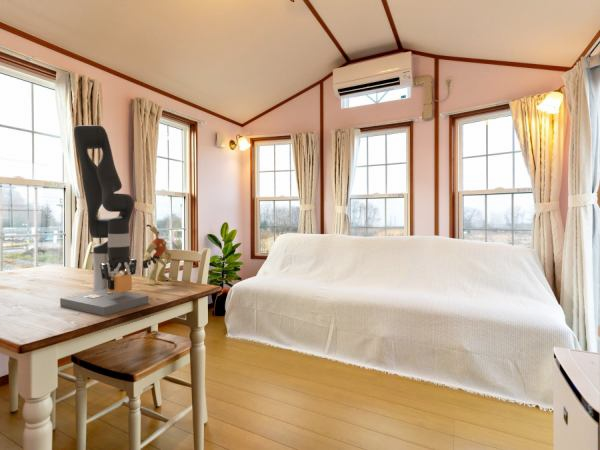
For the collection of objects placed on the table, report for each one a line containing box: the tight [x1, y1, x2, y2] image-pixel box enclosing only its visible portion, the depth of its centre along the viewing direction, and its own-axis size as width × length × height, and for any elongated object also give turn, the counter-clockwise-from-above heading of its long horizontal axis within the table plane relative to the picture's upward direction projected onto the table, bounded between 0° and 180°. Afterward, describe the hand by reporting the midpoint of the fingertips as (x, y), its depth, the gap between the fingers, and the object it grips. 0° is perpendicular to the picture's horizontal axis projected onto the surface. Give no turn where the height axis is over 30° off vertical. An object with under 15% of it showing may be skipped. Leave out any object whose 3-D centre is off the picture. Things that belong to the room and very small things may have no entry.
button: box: [88, 295, 102, 299], centre depth 125 cm, size 3×3×3 cm
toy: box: [142, 224, 173, 286], centre depth 163 cm, size 23×9×30 cm, turn 171°
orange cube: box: [107, 272, 133, 293], centre depth 125 cm, size 6×6×6 cm
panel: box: [59, 289, 149, 317], centre depth 125 cm, size 18×26×4 cm
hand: (119, 287), depth 125 cm, fingers closed on orange cube, 6 cm apart
